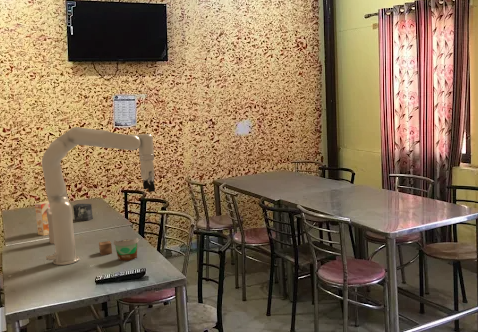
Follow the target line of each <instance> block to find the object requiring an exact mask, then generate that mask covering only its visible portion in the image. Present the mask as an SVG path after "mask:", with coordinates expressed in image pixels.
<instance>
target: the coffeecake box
mask: <svg viewBox="0 0 478 332" xmlns="http://www.w3.org/2000/svg"><path fill="white" fill-rule="evenodd" d="M47 208H50V205H49V201H48V200H44V201H40V202H34V209H35V220H36V230H37V235H38V236H43V237H44V236H49V224H48V218H47Z"/></svg>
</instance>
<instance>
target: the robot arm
mask: <svg viewBox="0 0 478 332" xmlns="http://www.w3.org/2000/svg"><path fill="white" fill-rule="evenodd" d="M78 145H79V146H88V147H89V146H90V147H96V148H97V147H98V148H104V149H117V150H126V151H136V150H138V155H139V162H140V178H141V179H142V185H143V186H142V187H143V190H148V193H152V192H156V189H155V188H156V186H155V169H154V168H155V167H154V161H155V152H154V139H153V135H152V134H151V133H142V134H125V133H116V132H112V131H108V130H103V129H94V128H87V127H79V126H73V127H72V128H70V129H69V130H67V131H66V132H65V133H63V134H62V135H60V136H58V137H57V138H56V139H55V140H53V141H51V142H50V144H49V147H47V149H46V150H45V151H44V153H43V156H42V158H41V168H42V173H43V178H44V189H45V192H46V196H47V201H49V205H50V209H51V213H52V224H53V233H54V243H55V244H54V250H55V252H54V254H52V255H46V256H45V259H46V260H47V261H52V263H53V264H54V265H58V266H63V265H65V266H66V265H71V264H75V263H77V262H79V261H80V256H79V255H77V254H76V253H77V252H76V240H75V231H74V222H73V219H74V217H73V206H72V204H71V203H70V201H69V197H68V193H67V185H66V184H67V183H66V182H65V179H64V175H63V170H62V167H61V166H62V165H61V162H62V160H63V159H64V158H65V157H66V156H67V154H68V153H69V151H71V150H73V149H74V148H76V146H78Z"/></svg>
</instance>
